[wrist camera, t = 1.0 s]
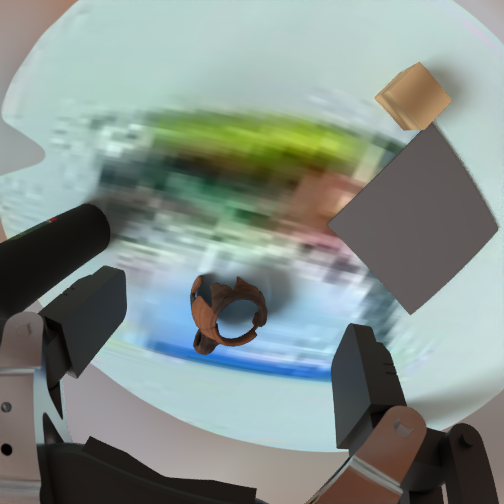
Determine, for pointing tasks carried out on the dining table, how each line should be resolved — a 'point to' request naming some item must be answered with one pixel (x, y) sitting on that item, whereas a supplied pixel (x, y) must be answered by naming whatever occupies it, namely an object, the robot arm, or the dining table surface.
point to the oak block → (413, 98)
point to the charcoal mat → (417, 220)
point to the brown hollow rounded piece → (208, 314)
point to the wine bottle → (48, 255)
